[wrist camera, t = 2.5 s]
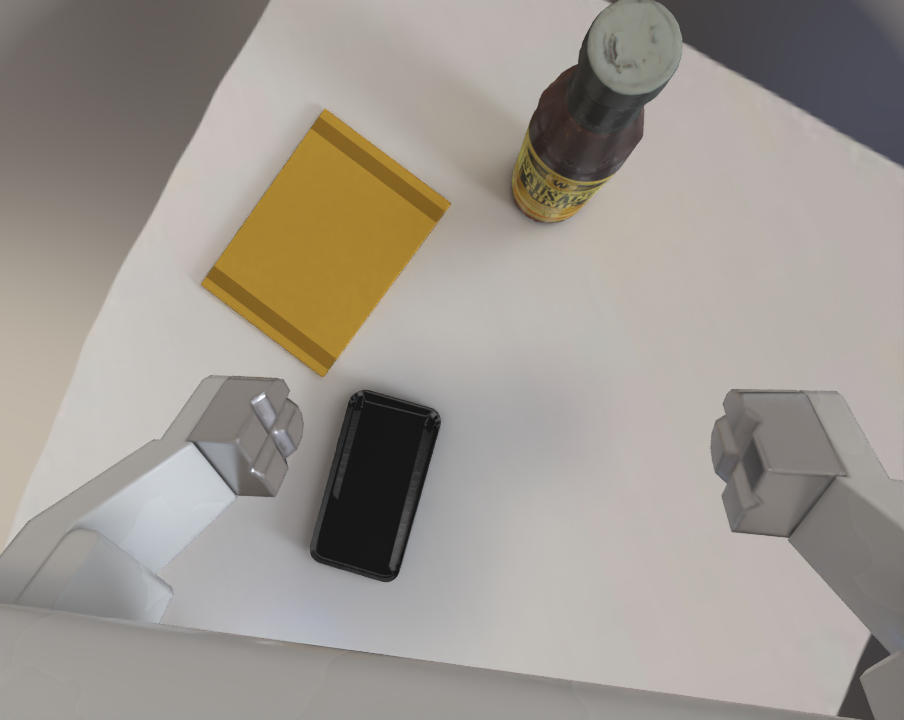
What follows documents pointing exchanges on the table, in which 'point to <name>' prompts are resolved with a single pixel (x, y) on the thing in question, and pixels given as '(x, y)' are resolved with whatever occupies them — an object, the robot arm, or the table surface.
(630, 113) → the sauce bottle
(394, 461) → the phone
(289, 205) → the tray
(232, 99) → the table surface
